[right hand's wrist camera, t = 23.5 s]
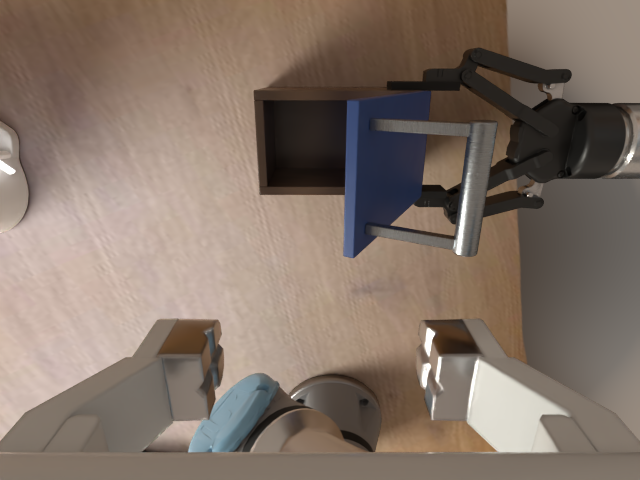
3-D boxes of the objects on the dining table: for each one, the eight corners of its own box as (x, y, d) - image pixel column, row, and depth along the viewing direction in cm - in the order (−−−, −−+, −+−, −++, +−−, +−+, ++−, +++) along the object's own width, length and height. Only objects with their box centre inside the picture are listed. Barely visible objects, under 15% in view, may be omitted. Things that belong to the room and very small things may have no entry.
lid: (342, 256, 27) (468, 283, 24) (346, 100, 24) (496, 104, 20) (413, 195, 41) (499, 207, 38) (422, 90, 37) (519, 92, 34)
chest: (269, 173, 50) (259, 195, 41) (266, 87, 47) (253, 90, 38) (399, 173, 50) (416, 195, 41) (405, 87, 47) (425, 90, 38)
